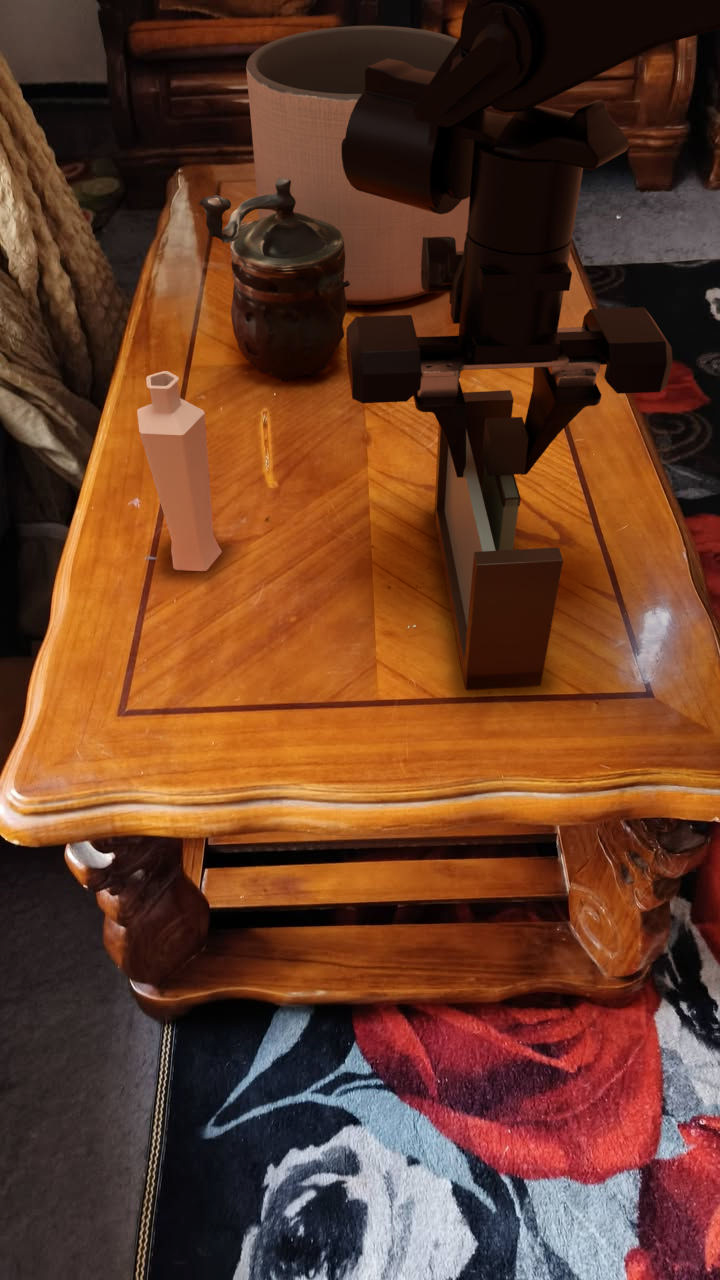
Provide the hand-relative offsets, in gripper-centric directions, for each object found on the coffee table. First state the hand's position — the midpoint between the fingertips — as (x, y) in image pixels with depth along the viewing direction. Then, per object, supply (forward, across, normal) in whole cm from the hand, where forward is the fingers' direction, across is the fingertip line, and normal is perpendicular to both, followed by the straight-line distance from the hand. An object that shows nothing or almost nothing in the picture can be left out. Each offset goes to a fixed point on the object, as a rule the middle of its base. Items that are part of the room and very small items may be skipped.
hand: (490, 472), depth 63 cm
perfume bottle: (+10, +21, -5) cm, 24 cm away
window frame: (+10, 0, +1) cm, 10 cm away
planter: (+8, +4, -52) cm, 53 cm away
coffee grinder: (+9, +13, -31) cm, 35 cm away
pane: (+8, -1, 0) cm, 8 cm away
